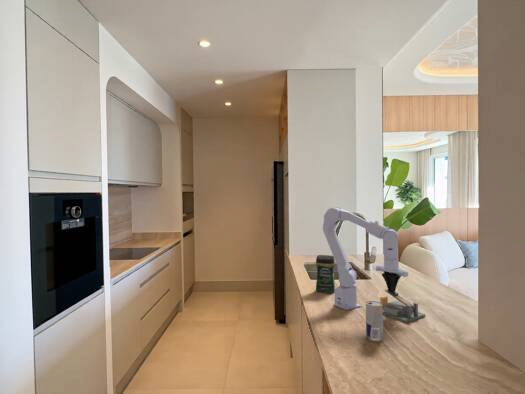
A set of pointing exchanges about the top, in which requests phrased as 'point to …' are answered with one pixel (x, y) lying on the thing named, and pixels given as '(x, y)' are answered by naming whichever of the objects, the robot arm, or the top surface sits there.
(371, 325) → the energy drink
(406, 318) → the clamp board
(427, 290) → the top surface
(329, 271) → the coffee jar
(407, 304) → the clamp bar
